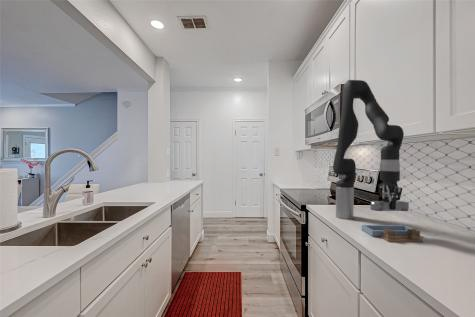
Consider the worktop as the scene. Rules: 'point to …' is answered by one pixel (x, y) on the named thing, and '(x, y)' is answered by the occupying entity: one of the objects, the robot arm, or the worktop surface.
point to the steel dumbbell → (386, 206)
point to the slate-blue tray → (378, 229)
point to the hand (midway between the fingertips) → (389, 208)
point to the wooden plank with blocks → (411, 236)
